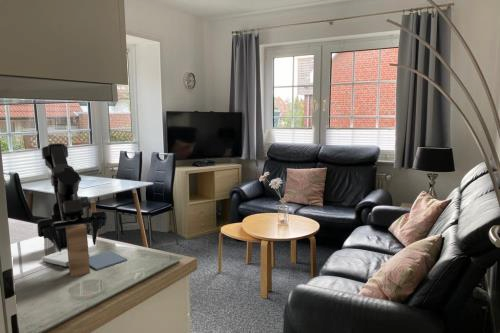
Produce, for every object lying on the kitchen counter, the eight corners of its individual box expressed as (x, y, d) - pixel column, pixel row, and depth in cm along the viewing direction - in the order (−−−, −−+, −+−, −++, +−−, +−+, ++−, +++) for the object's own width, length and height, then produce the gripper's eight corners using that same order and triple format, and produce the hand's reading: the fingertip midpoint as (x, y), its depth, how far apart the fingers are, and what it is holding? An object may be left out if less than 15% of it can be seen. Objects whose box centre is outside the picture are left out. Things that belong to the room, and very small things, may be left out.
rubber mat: (80, 261, 117) (80, 259, 117) (110, 252, 124) (110, 250, 124) (96, 270, 110) (96, 268, 109) (127, 260, 117) (127, 258, 117)
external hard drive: (66, 267, 111) (42, 261, 117) (89, 258, 118) (66, 253, 124) (65, 262, 110) (41, 256, 117) (89, 253, 117) (65, 248, 124)
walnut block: (69, 272, 109) (65, 226, 107) (87, 268, 111) (83, 223, 109) (71, 277, 105) (67, 230, 103) (90, 272, 108) (86, 227, 106)
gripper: (34, 192, 104) (41, 240, 96) (103, 185, 114) (114, 227, 106) (35, 213, 111) (41, 259, 104) (99, 204, 121) (109, 246, 114)
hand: (78, 247), depth 107 cm, fingers open, 9 cm apart
